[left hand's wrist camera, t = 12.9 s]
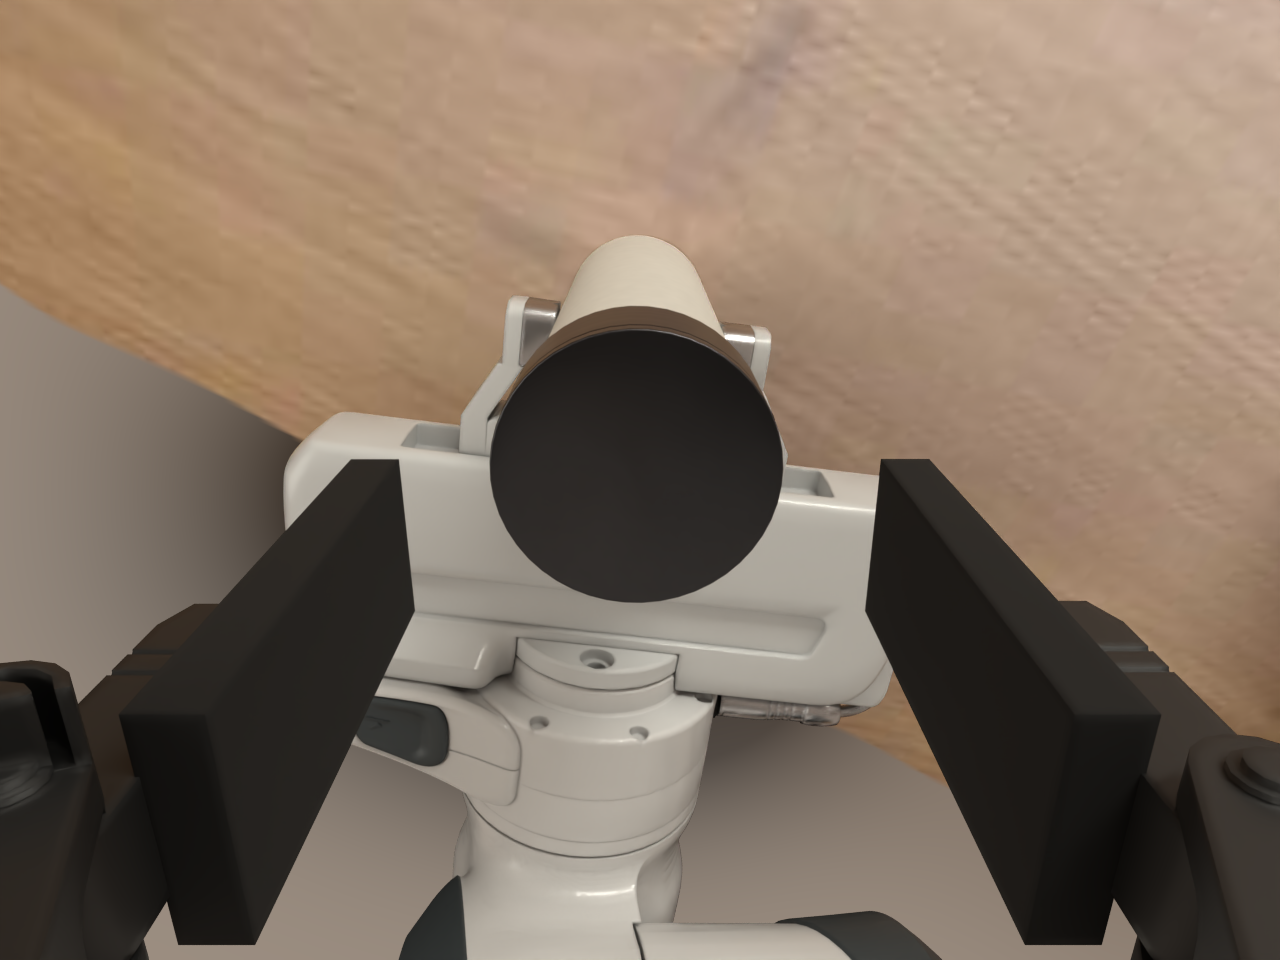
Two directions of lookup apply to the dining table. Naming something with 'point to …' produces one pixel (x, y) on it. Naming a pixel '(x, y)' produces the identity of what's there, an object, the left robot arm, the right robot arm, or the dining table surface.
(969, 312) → the dining table surface
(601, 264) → the cream bottle
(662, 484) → the lid
